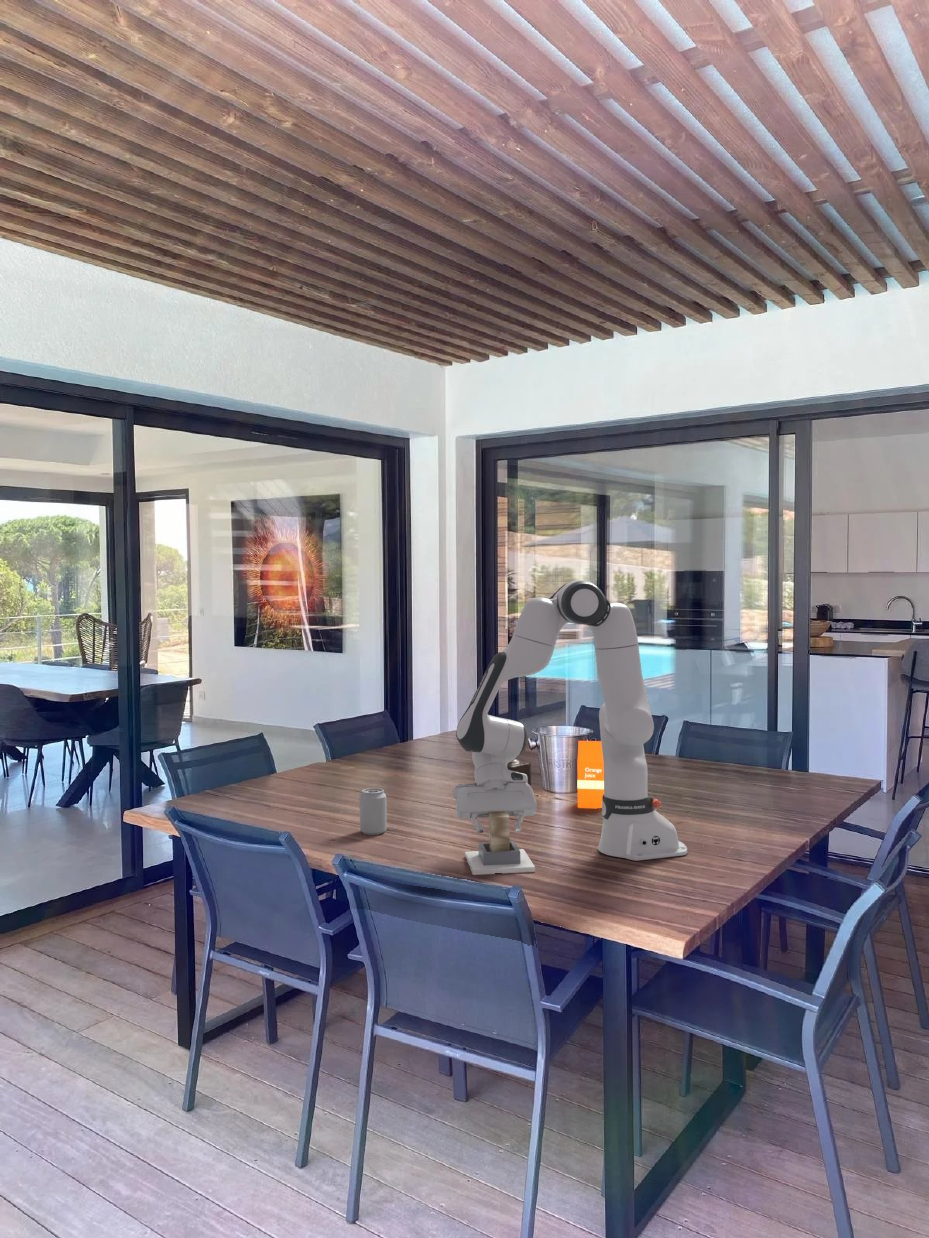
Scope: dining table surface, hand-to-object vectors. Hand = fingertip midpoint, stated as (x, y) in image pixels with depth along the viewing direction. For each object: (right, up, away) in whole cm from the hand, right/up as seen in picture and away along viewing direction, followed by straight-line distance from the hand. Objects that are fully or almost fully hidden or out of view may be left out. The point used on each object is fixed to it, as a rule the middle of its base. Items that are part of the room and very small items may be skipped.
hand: (499, 830), depth 227 cm
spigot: (0, -7, +1) cm, 7 cm away
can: (-34, -8, +31) cm, 47 cm away
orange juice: (+31, -6, +59) cm, 67 cm away
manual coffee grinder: (+5, -5, +82) cm, 82 cm away
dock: (0, -8, +1) cm, 8 cm away
